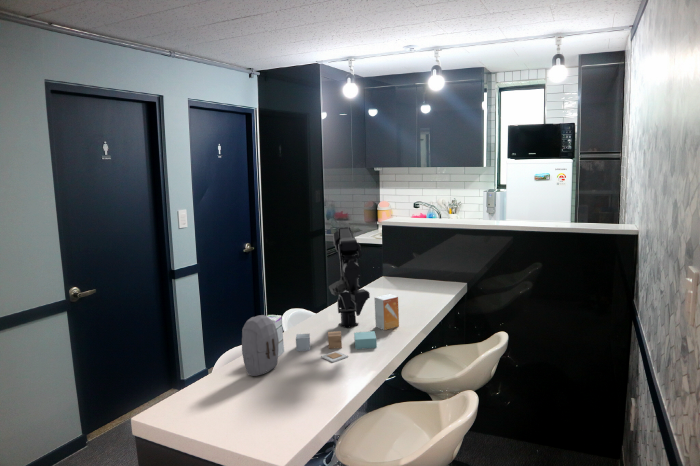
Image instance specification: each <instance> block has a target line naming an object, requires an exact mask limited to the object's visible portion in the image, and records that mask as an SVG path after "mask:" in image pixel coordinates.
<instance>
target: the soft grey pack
mask: <svg viewBox="0 0 700 466" xmlns="http://www.w3.org/2000/svg"><path fill="white" fill-rule="evenodd" d="M241 331H242V332H241V353H242V358H243V364H244V366H245V371H246V373H247V374H248V376H249V375H250V376H252V377H253V376H254V377H255V376H257V377H258V376H261V375H265V374H266V373H268V372H270V371H272V370H273V369H274V368H276V366H277V365H278V360H279V359H278V358H279V357H278V342H279V340H278V334H277V330H276V327H275V324H274V322H273V321H272V320H271V319H270V318H268V317H267V315H265V314H261V315H256V316H252V317H250V318H249V319H247V320H246V322H245V323H244V325H243V327H242V330H241Z"/></svg>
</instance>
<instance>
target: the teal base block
mask: <svg viewBox="0 0 700 466" xmlns="http://www.w3.org/2000/svg"><path fill="white" fill-rule="evenodd" d="M375 332H376V331H374V330H373V331H372V330H371V331H360V332H357V331H356V332H354V333H353V334H354V337H353V338H354V348H355V350H360V349H361V350H362V348H365V349H375V348H374V347H377V348H378V346H377V345H378V344H377V343H378V342H377V336H376V335H377V334H376V333H375Z"/></svg>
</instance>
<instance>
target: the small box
mask: <svg viewBox="0 0 700 466" xmlns="http://www.w3.org/2000/svg"><path fill="white" fill-rule="evenodd" d="M374 316H375V317H374V321H375V327H376V328H377V327H378V328H377V329H381V330H382V329H383V330H382V331H387V330H390V329H394V328H398V327H400V317H399V316H400V313H399V296H398V295H394V294H390V293H388V294H383V295H379V296H375V297H374Z"/></svg>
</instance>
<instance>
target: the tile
mask: <svg viewBox="0 0 700 466" xmlns="http://www.w3.org/2000/svg"><path fill="white" fill-rule="evenodd" d="M348 357H349V356H348V355H347V354H345V353H342V352H340V351H338V350H335V351H333V352H329V353H326V354H323V355H321V359H325V360H327V361H328V362H331V363H336V362H339V361H341V360H344V359H347V358H348Z"/></svg>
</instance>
